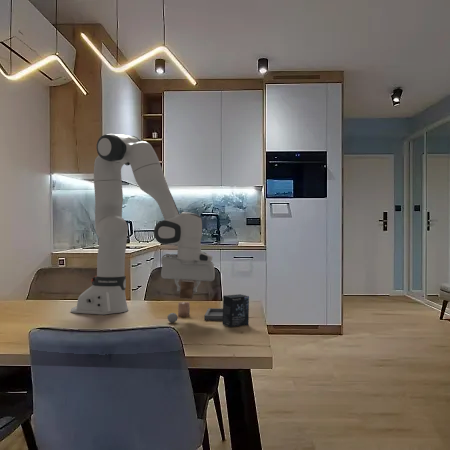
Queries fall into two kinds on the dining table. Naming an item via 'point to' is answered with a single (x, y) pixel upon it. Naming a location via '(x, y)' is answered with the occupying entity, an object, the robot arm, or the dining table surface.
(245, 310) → the box
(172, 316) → the grey ball
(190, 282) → the walnut cube
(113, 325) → the dining table surface
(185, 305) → the wooden block
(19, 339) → the dining table surface
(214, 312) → the slate tray
